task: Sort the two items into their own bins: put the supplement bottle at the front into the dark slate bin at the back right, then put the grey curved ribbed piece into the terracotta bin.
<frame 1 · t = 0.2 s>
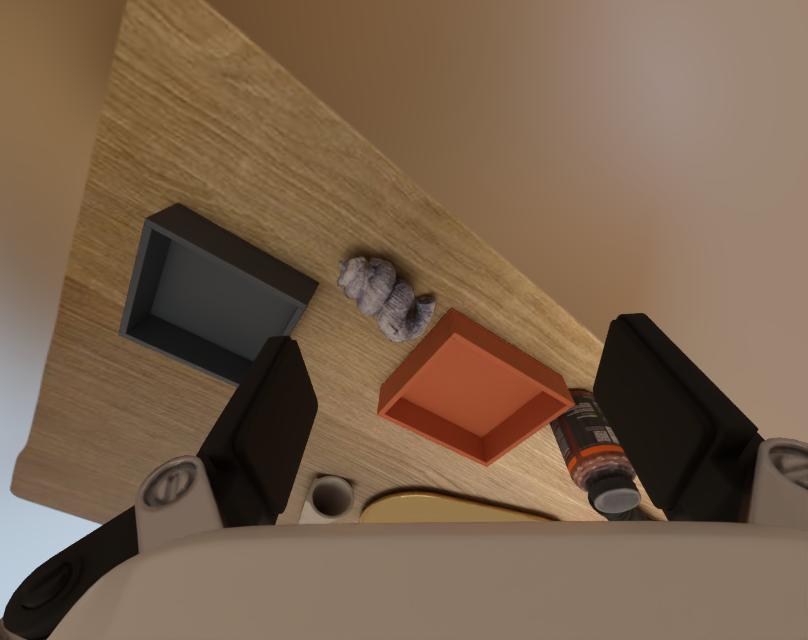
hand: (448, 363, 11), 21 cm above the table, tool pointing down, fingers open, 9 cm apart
supplement bottle: (570, 404, 40), on the table
long tapered cone: (323, 507, 56), on the table
grey curved ribbed piece: (386, 285, 33), on the table
serving platter: (465, 526, 57), on the table
terracotta bin: (468, 381, 39), on the table
flashlight: (629, 508, 52), on the table
slate bin: (229, 297, 34), on the table
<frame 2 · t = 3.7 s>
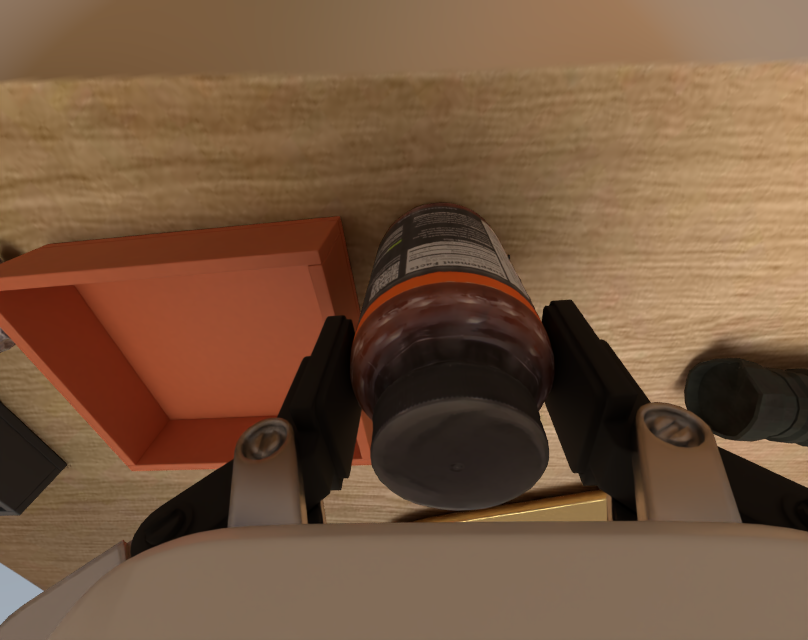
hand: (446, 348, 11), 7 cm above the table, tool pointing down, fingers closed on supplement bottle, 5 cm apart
supplement bottle: (438, 258, 17), on the table, touching gripper
serving platter: (544, 541, 33), on the table
terracotta bin: (237, 338, 20), on the table
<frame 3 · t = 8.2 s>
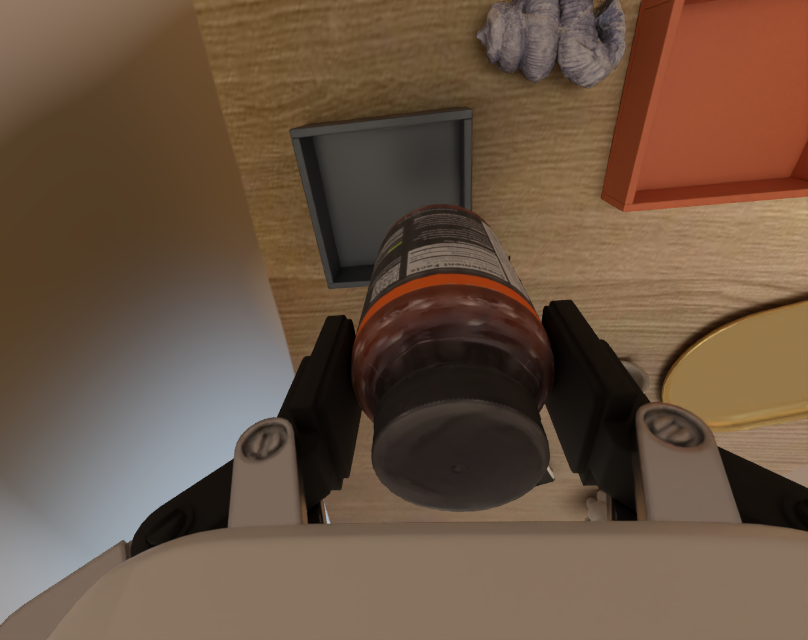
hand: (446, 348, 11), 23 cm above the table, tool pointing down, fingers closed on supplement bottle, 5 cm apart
figurine: (594, 493, 56), on the table
supplement bottle: (438, 259, 17), point 16 cm above the table, touching gripper
long tapered cone: (607, 413, 46), on the table
grey curved ribbed piece: (540, 42, 25), on the table
terracotta bin: (722, 101, 26), on the table
slate bin: (393, 199, 32), on the table
when the fingers open (8 cm above the table, at t = 12.5 s): supplement bottle stays where it is, resting on slate bin.
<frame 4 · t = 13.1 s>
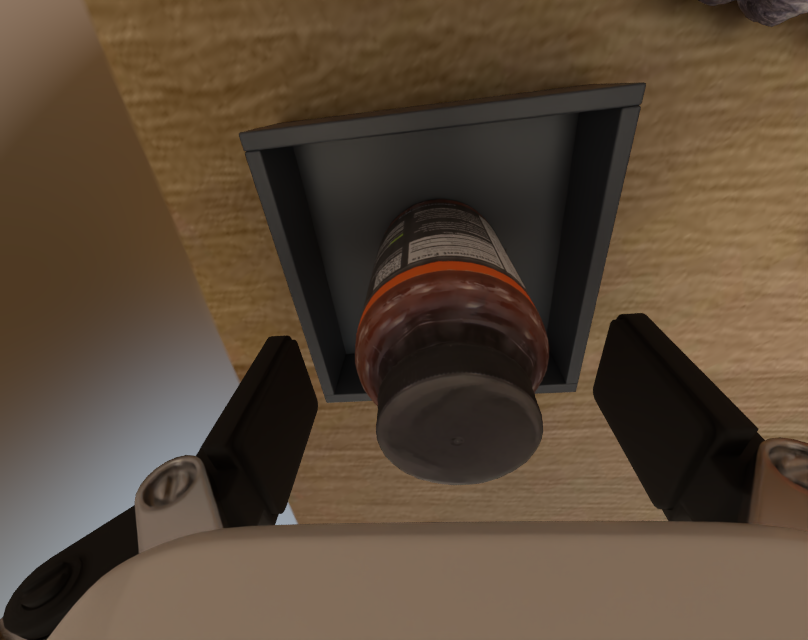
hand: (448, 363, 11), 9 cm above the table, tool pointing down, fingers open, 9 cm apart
supplement bottle: (437, 253, 18), resting on slate bin
slate bin: (437, 251, 18), on the table
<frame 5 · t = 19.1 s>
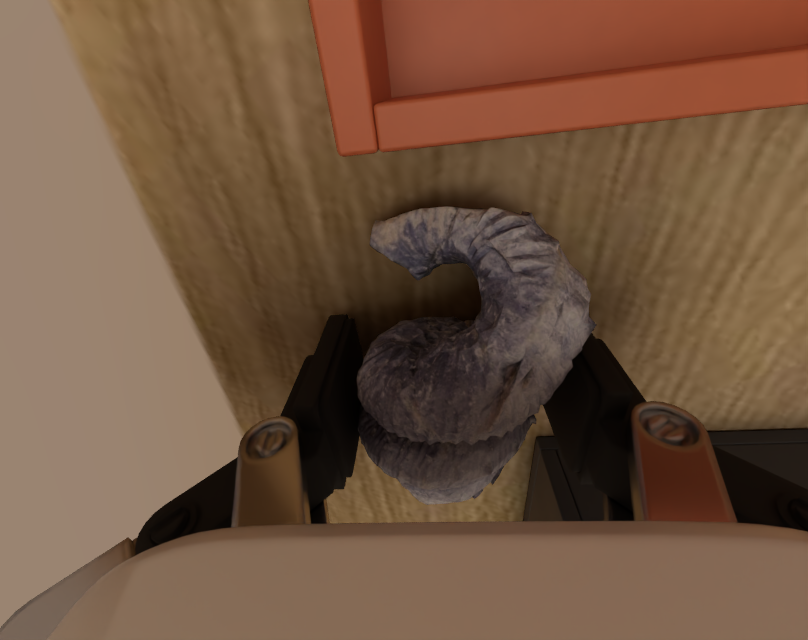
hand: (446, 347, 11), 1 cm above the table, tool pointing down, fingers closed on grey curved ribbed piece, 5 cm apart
grey curved ribbed piece: (448, 334, 12), on the table, touching gripper
slate bin: (658, 517, 17), on the table
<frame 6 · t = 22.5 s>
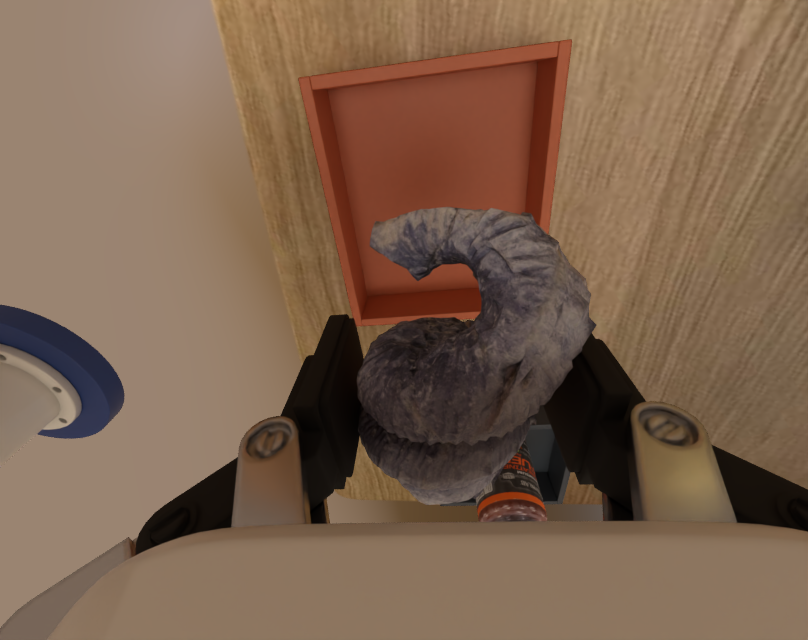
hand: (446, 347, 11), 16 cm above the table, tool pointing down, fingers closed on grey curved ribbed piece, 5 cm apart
supplement bottle: (496, 438, 38), resting on slate bin
grey curved ribbed piece: (448, 334, 12), point 15 cm above the table, touching gripper
terracotta bin: (436, 198, 24), on the table
slate bin: (495, 435, 38), on the table
when the fingers open (2 cm above the table, at t = 26.8 s): grey curved ribbed piece stays where it is, resting on terracotta bin.
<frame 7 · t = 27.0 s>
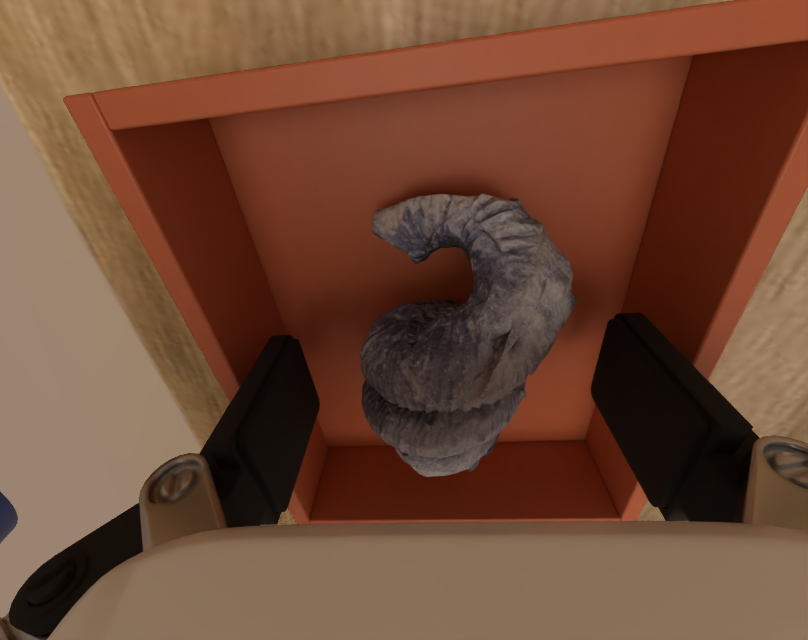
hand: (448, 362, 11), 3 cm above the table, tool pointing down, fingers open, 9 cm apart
grey curved ribbed piece: (445, 318, 13), resting on terracotta bin
terracotta bin: (444, 311, 13), on the table
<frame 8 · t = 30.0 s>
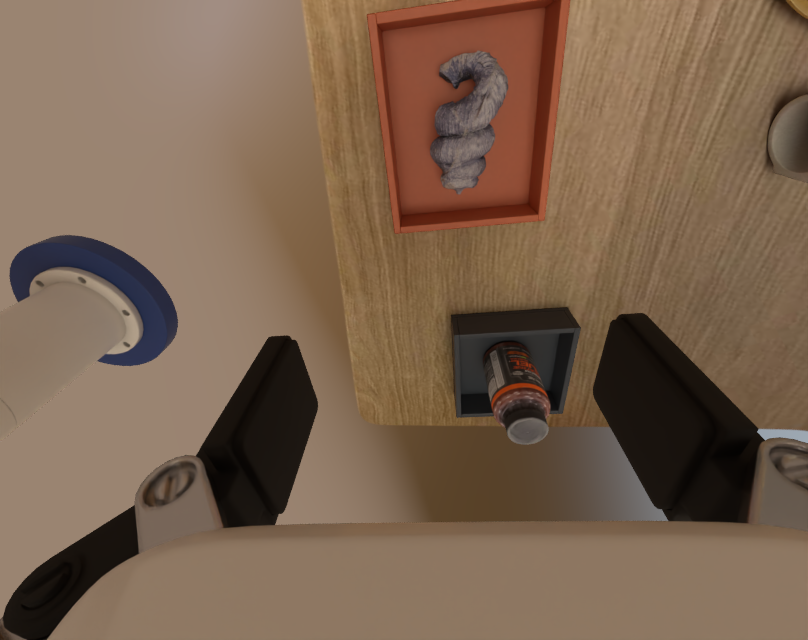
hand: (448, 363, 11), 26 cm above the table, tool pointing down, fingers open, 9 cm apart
supplement bottle: (505, 357, 43), resting on slate bin
grey curved ribbed piece: (463, 127, 30), resting on terracotta bin
terracotta bin: (462, 126, 30), on the table
slate bin: (505, 355, 44), on the table
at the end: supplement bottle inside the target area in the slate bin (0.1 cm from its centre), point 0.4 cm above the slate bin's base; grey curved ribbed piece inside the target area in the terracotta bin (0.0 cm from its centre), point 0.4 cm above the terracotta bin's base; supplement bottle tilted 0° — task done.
